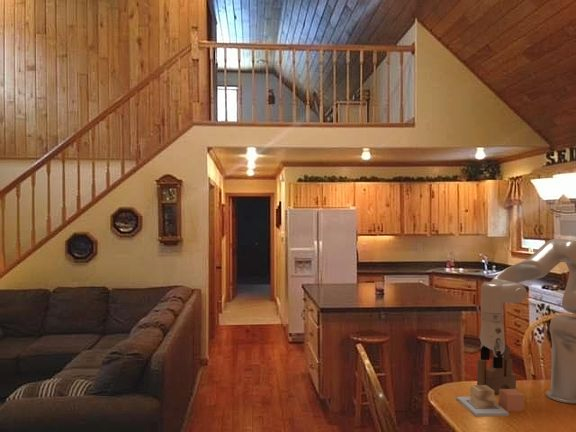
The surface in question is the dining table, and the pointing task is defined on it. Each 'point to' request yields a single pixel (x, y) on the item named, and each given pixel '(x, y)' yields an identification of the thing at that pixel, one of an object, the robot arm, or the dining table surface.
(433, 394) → the dining table surface
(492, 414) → the board
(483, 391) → the birch block
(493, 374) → the wooden toy
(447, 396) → the dining table surface
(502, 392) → the rust block
